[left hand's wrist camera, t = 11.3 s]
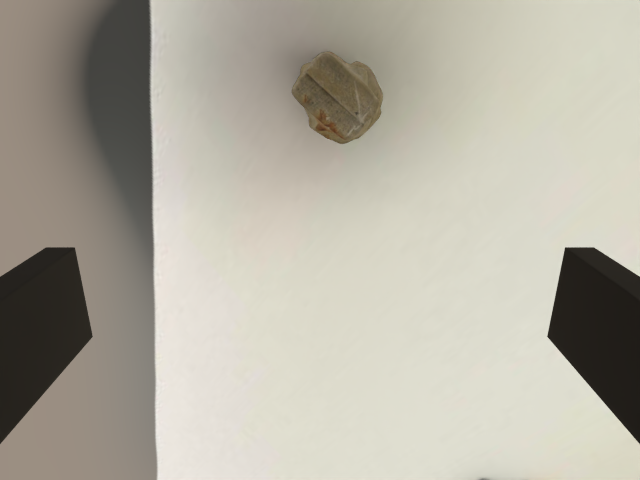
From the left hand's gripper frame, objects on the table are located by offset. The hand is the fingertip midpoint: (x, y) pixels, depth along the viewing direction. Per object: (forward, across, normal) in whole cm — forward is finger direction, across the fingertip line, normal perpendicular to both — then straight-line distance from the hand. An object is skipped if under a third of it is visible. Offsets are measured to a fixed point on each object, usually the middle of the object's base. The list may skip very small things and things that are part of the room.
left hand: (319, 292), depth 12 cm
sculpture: (+32, +2, +4) cm, 32 cm away
